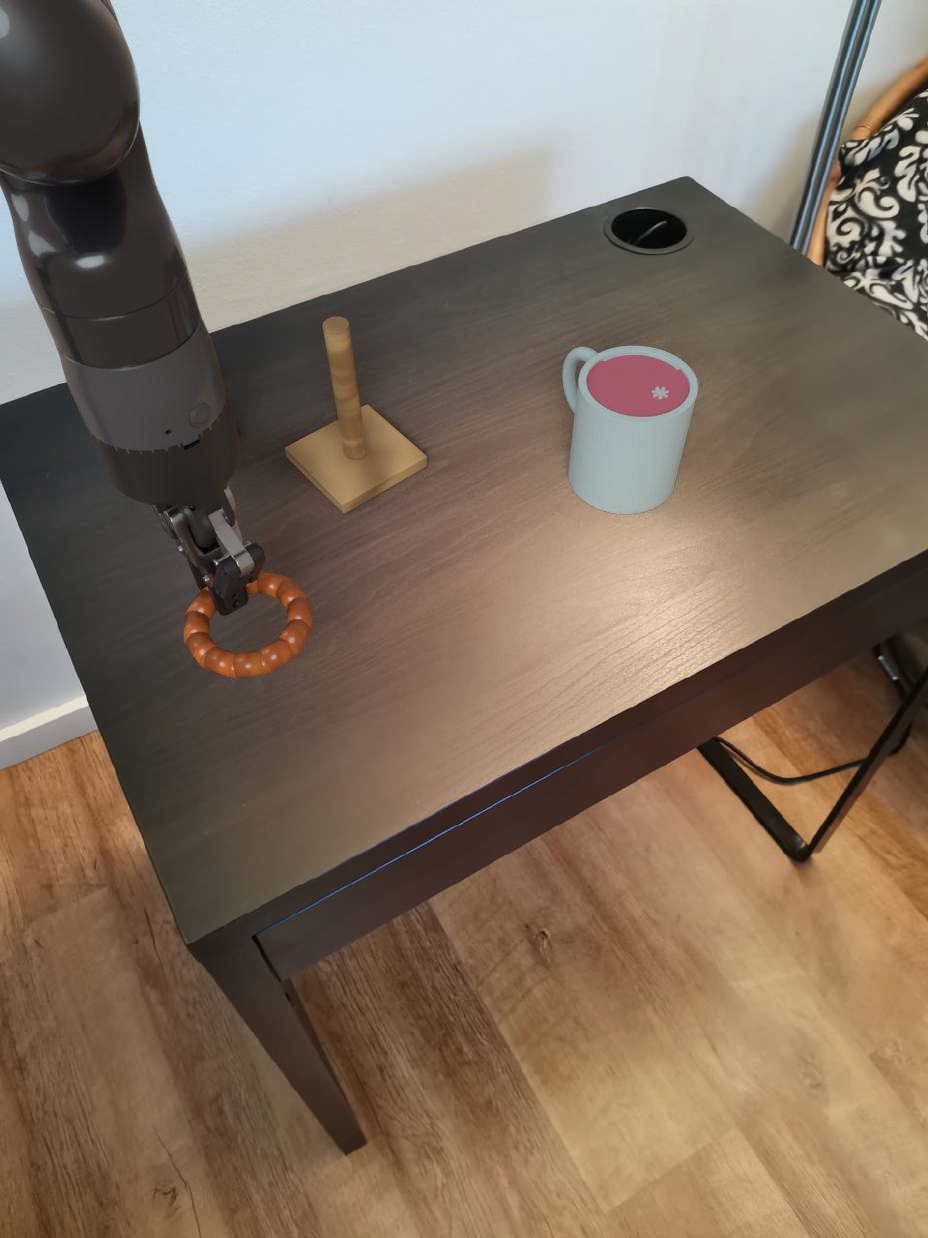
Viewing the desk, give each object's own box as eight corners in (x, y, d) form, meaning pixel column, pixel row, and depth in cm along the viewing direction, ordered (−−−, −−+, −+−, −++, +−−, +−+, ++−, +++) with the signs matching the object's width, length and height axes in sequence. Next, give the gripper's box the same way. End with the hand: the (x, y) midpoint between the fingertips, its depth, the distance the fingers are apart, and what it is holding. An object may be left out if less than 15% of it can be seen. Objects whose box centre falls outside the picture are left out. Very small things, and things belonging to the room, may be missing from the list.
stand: (344, 514, 74) (319, 378, 63) (286, 457, 79) (253, 319, 67) (428, 465, 78) (419, 328, 66) (368, 413, 82) (350, 275, 70)
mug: (697, 487, 76) (723, 394, 68) (609, 529, 73) (625, 438, 65) (602, 397, 83) (615, 304, 75) (519, 433, 80) (523, 340, 72)
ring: (228, 704, 56) (223, 691, 55) (164, 621, 60) (158, 607, 59) (337, 635, 59) (334, 622, 58) (270, 561, 63) (266, 546, 62)
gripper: (32, 361, 48) (128, 564, 62) (151, 502, 42) (228, 692, 56) (155, 309, 51) (221, 514, 65) (284, 434, 45) (326, 631, 59)
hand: (224, 595), depth 61 cm, fingers closed on ring, 2 cm apart
